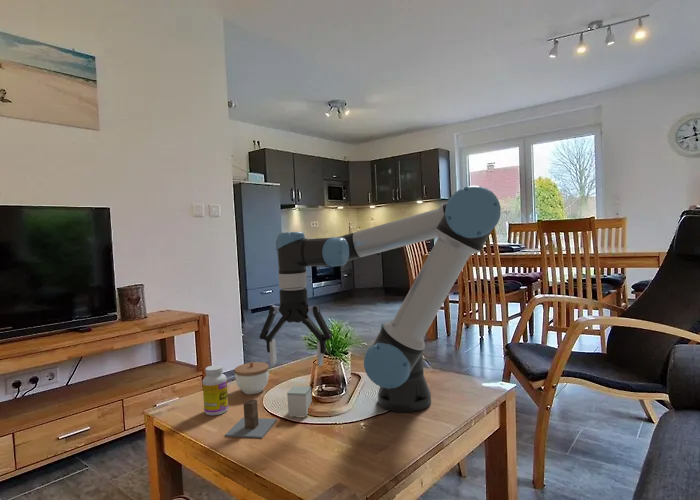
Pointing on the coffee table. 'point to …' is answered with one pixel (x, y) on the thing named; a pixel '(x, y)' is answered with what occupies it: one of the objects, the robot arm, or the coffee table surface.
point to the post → (251, 414)
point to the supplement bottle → (215, 391)
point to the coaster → (258, 432)
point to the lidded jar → (252, 377)
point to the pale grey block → (299, 400)
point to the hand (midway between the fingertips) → (296, 364)
